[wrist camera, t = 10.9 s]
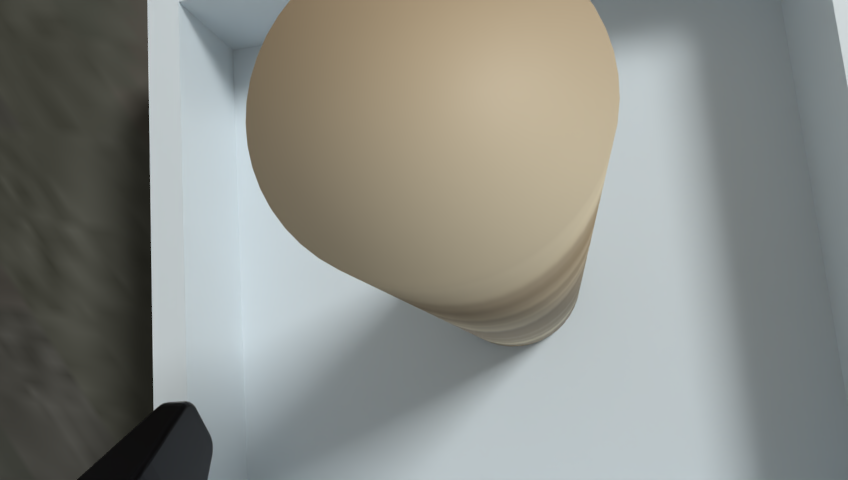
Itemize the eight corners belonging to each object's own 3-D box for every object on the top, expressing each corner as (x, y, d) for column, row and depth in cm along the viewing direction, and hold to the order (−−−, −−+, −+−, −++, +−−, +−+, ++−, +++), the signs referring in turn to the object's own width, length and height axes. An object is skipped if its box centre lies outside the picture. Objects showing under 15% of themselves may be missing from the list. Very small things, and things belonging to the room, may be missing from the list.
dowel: (586, 340, 17) (642, 269, 6) (451, 351, 18) (248, 304, 6) (572, 208, 18) (596, -102, 6) (442, 221, 18) (242, -42, 7)
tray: (911, 608, 16) (1004, 678, 12) (232, 617, 19) (157, 677, 15) (797, -60, 18) (848, -153, 15) (215, 36, 21) (147, -24, 18)
